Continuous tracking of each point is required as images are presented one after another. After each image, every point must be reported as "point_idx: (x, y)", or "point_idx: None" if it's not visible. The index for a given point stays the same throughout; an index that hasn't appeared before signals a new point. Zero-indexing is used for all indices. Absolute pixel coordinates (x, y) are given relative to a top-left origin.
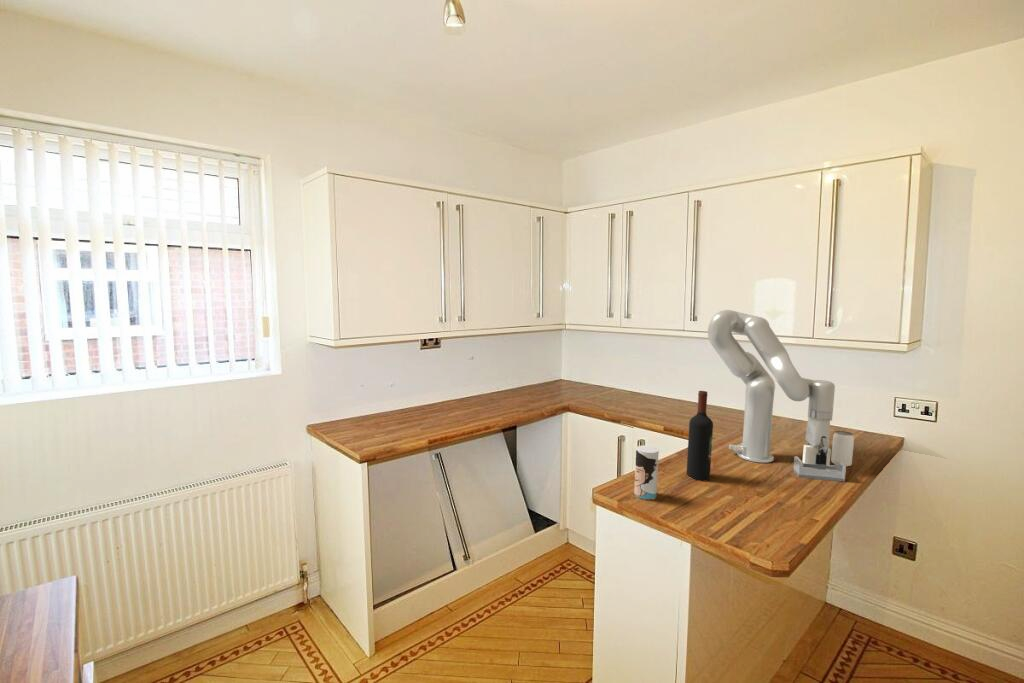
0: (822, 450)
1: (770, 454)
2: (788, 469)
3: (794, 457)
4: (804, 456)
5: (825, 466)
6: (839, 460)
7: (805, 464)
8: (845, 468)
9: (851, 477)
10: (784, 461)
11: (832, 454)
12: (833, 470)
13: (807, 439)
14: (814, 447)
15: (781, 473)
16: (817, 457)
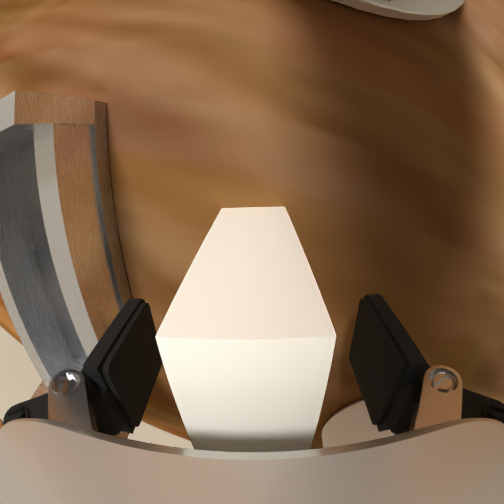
0: (5, 419)
1: (418, 7)
2: (132, 71)
3: (21, 93)
4: (231, 241)
5: (85, 343)
6: (335, 437)
7: (44, 196)
8: None
9: (159, 409)
10: (350, 83)
11: (384, 434)
12: (27, 349)
13: (388, 486)
14: (190, 437)
15: (51, 38)
16: (103, 350)
